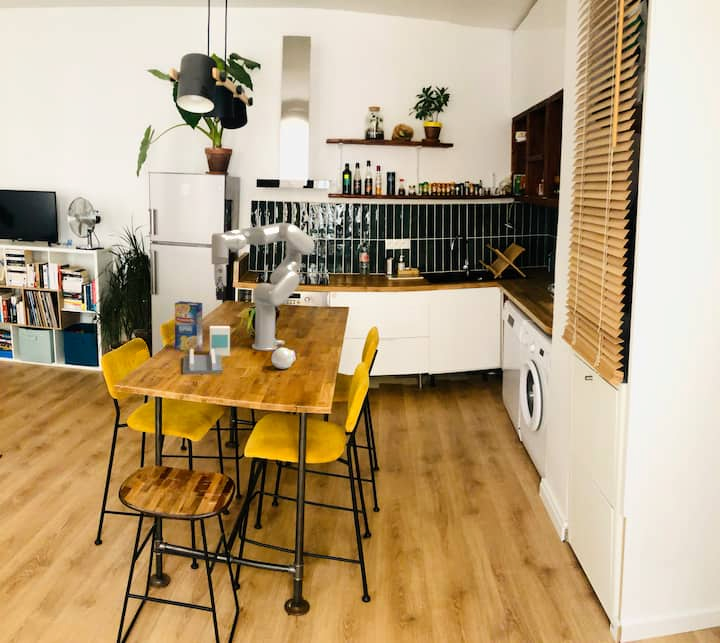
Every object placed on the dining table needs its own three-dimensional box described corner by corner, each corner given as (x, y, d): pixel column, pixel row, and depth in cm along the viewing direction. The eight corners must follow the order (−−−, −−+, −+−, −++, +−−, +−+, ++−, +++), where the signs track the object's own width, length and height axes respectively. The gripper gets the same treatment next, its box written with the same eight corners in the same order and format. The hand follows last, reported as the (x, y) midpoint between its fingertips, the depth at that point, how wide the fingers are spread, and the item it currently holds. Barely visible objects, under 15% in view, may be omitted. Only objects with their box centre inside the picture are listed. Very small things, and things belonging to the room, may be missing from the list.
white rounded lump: (274, 374, 305) (287, 370, 320) (292, 363, 303) (304, 359, 317) (264, 355, 306) (277, 352, 320) (282, 344, 304) (294, 341, 318)
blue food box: (196, 351, 333) (196, 305, 329) (174, 349, 335) (174, 303, 331) (202, 348, 340) (202, 302, 336) (180, 346, 342) (180, 301, 338)
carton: (209, 353, 331) (209, 326, 328) (229, 353, 333) (229, 325, 330) (209, 356, 326) (209, 328, 323) (229, 355, 328) (230, 328, 325)
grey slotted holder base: (220, 358, 323) (220, 348, 322) (222, 373, 298) (222, 363, 297) (183, 358, 319) (183, 348, 318) (183, 374, 294) (183, 363, 293)
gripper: (229, 263, 314) (228, 301, 317) (227, 258, 330) (227, 295, 334) (211, 262, 312) (211, 301, 315) (211, 258, 329) (210, 295, 332)
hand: (219, 298), depth 324 cm, fingers open, 9 cm apart
